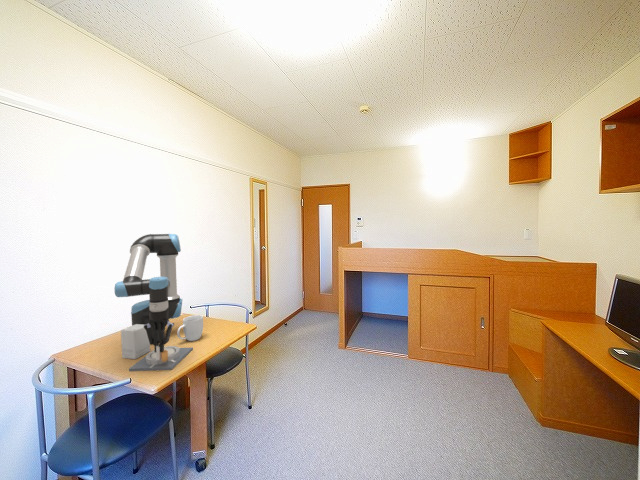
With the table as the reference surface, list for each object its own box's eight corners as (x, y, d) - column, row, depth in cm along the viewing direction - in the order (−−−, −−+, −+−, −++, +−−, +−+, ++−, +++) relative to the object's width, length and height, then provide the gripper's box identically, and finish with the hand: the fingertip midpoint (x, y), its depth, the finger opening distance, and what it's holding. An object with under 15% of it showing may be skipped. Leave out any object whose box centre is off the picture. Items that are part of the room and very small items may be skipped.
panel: (156, 350, 134) (156, 344, 134) (192, 349, 135) (192, 343, 135) (128, 371, 114) (128, 363, 114) (171, 369, 115) (171, 362, 115)
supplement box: (151, 351, 134) (150, 324, 133) (135, 359, 125) (134, 331, 124) (137, 349, 136) (136, 323, 135) (121, 357, 127) (120, 329, 126)
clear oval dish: (151, 355, 126) (150, 343, 125) (173, 349, 132) (173, 338, 131) (152, 369, 113) (152, 356, 112) (177, 362, 119) (176, 349, 118)
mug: (182, 347, 138) (182, 324, 137) (173, 342, 144) (172, 321, 143) (207, 337, 150) (206, 316, 150) (197, 333, 156) (196, 313, 156)
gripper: (139, 312, 111) (140, 363, 112) (169, 311, 112) (169, 362, 113) (149, 307, 119) (149, 355, 119) (176, 307, 120) (177, 354, 120)
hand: (159, 358), depth 116 cm, fingers closed
